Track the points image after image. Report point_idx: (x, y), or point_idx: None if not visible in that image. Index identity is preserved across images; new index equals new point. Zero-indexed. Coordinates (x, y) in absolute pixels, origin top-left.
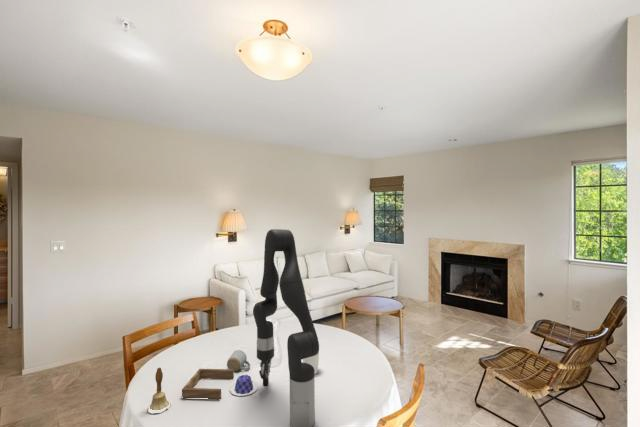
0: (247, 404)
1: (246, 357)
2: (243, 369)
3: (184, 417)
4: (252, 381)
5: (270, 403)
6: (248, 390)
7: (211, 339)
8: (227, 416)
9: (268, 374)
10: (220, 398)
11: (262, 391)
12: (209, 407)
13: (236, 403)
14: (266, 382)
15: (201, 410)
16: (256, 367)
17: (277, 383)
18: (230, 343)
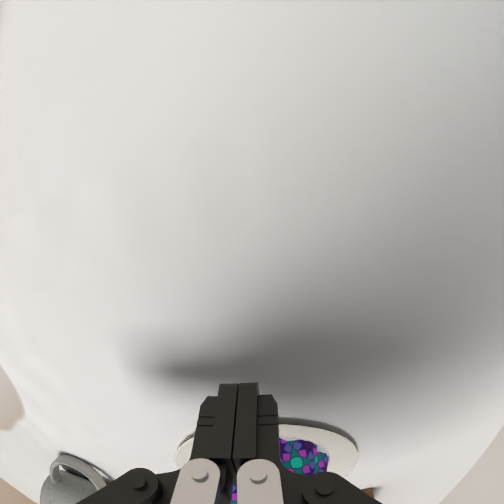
0: (442, 398)
1: (43, 487)
2: (102, 482)
3: (444, 488)
4: (178, 454)
5: (469, 261)
6: (311, 456)
7: (31, 494)
8: (495, 414)
9: (216, 484)
10: (369, 492)
11: (288, 383)
12: (415, 483)
13: (416, 441)
14: (276, 425)
15: (425, 485)
16: (40, 430)
17: (119, 294)
18: (8, 469)
